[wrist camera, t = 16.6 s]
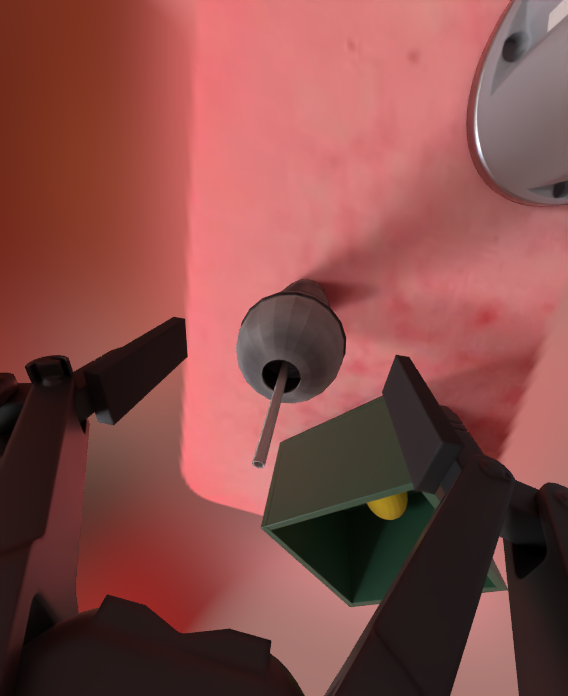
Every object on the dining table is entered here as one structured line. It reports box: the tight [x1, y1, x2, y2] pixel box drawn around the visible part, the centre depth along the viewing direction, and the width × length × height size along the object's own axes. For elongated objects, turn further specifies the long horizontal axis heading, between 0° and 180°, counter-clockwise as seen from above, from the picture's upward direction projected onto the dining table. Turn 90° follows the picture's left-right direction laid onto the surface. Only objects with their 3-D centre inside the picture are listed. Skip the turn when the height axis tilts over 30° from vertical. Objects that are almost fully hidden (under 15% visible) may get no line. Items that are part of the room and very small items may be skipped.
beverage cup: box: [236, 279, 346, 468], centre depth 18 cm, size 7×7×20 cm
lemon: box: [367, 492, 408, 520], centre depth 33 cm, size 6×6×8 cm
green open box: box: [261, 396, 508, 607], centre depth 31 cm, size 18×18×12 cm
